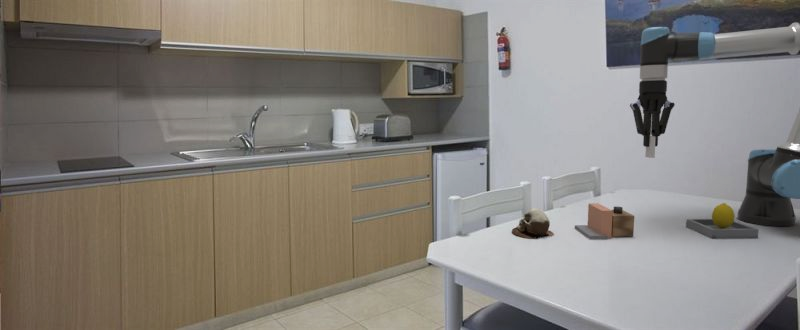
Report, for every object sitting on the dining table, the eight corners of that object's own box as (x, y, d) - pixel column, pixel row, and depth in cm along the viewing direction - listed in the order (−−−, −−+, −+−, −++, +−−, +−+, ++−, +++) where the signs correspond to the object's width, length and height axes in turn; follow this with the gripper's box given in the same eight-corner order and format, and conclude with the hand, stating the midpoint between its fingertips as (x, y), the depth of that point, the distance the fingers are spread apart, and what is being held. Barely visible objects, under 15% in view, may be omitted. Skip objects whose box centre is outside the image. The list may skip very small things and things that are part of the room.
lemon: (736, 232, 146) (739, 205, 145) (716, 231, 147) (718, 205, 146) (727, 227, 151) (729, 201, 150) (707, 227, 152) (709, 200, 151)
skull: (500, 228, 152) (518, 201, 154) (520, 247, 156) (537, 220, 158) (528, 236, 141) (547, 207, 144) (548, 257, 145) (566, 228, 148)
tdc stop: (595, 228, 155) (597, 202, 154) (612, 239, 143) (614, 211, 142) (574, 228, 155) (575, 202, 154) (589, 239, 143) (591, 211, 142)
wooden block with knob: (620, 229, 153) (622, 204, 152) (633, 236, 145) (634, 210, 144) (601, 229, 153) (602, 204, 152) (612, 236, 145) (613, 210, 144)
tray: (727, 226, 156) (728, 218, 156) (757, 238, 143) (758, 229, 143) (685, 226, 156) (686, 218, 156) (712, 238, 143) (712, 229, 143)
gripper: (667, 80, 157) (664, 155, 160) (626, 80, 157) (623, 156, 160) (681, 79, 150) (677, 158, 153) (638, 79, 150) (635, 159, 153)
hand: (649, 157), depth 157 cm, fingers closed
